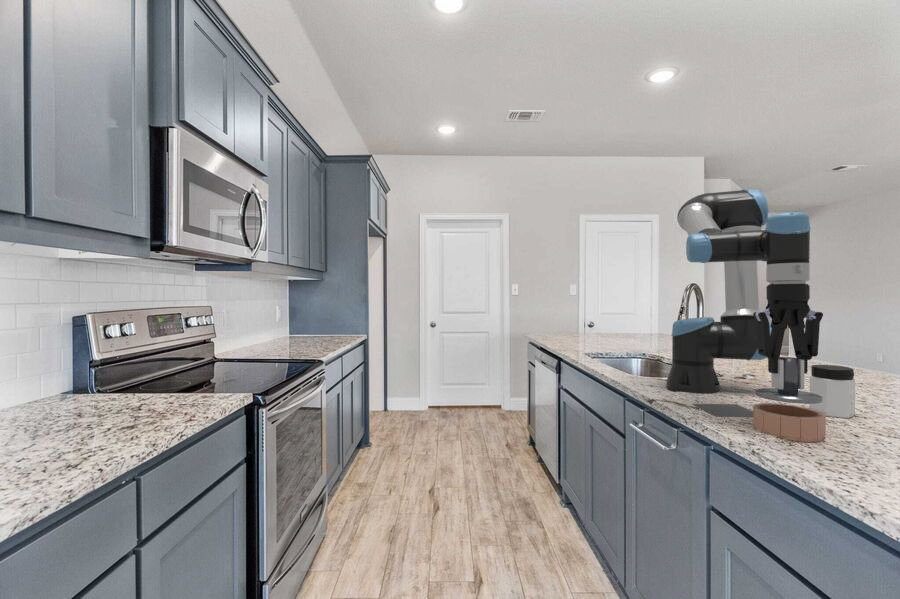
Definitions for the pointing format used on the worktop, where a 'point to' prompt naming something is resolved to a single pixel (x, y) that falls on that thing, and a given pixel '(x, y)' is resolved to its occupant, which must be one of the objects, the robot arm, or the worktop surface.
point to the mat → (725, 410)
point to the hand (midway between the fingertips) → (787, 387)
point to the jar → (833, 390)
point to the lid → (789, 387)
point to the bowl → (790, 422)
